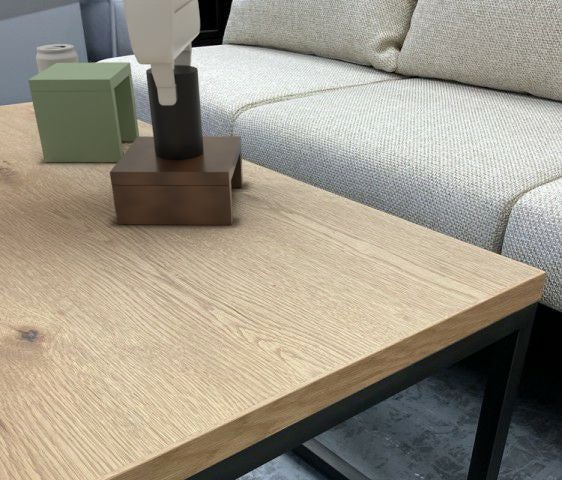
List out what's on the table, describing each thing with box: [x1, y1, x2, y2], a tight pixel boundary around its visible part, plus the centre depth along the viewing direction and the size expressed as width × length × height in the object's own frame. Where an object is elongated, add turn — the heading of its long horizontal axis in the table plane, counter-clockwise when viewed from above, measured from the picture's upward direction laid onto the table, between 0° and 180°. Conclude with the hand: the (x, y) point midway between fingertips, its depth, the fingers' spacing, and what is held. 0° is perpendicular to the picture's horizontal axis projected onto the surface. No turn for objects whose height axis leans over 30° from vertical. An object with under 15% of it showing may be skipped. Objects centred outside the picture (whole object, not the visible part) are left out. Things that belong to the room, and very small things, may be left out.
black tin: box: [145, 65, 204, 160], centre depth 79 cm, size 6×6×9 cm
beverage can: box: [35, 43, 80, 74], centre depth 112 cm, size 6×6×12 cm
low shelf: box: [109, 136, 244, 226], centre depth 83 cm, size 13×14×6 cm
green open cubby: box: [28, 61, 140, 163], centre depth 101 cm, size 11×12×11 cm
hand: (176, 93), depth 78 cm, fingers open, 8 cm apart
